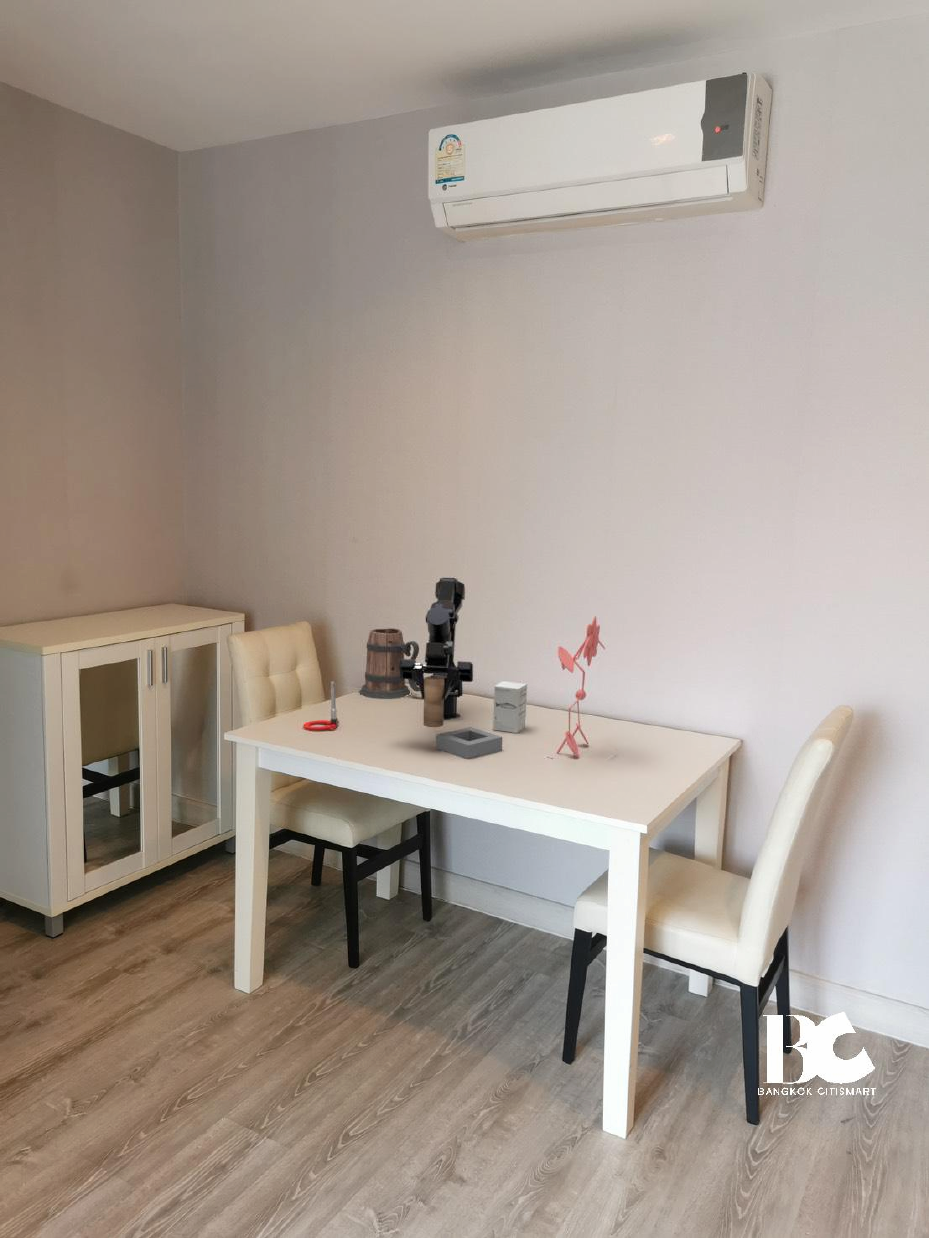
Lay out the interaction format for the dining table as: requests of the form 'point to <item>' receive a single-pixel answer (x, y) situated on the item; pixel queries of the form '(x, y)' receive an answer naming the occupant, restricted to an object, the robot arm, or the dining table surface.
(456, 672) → the robot arm
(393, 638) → the tankard
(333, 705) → the tow hook
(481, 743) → the socket block
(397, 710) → the dining table surface
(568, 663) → the figurine
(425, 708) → the walnut peg
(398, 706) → the dining table surface
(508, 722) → the supplement box
